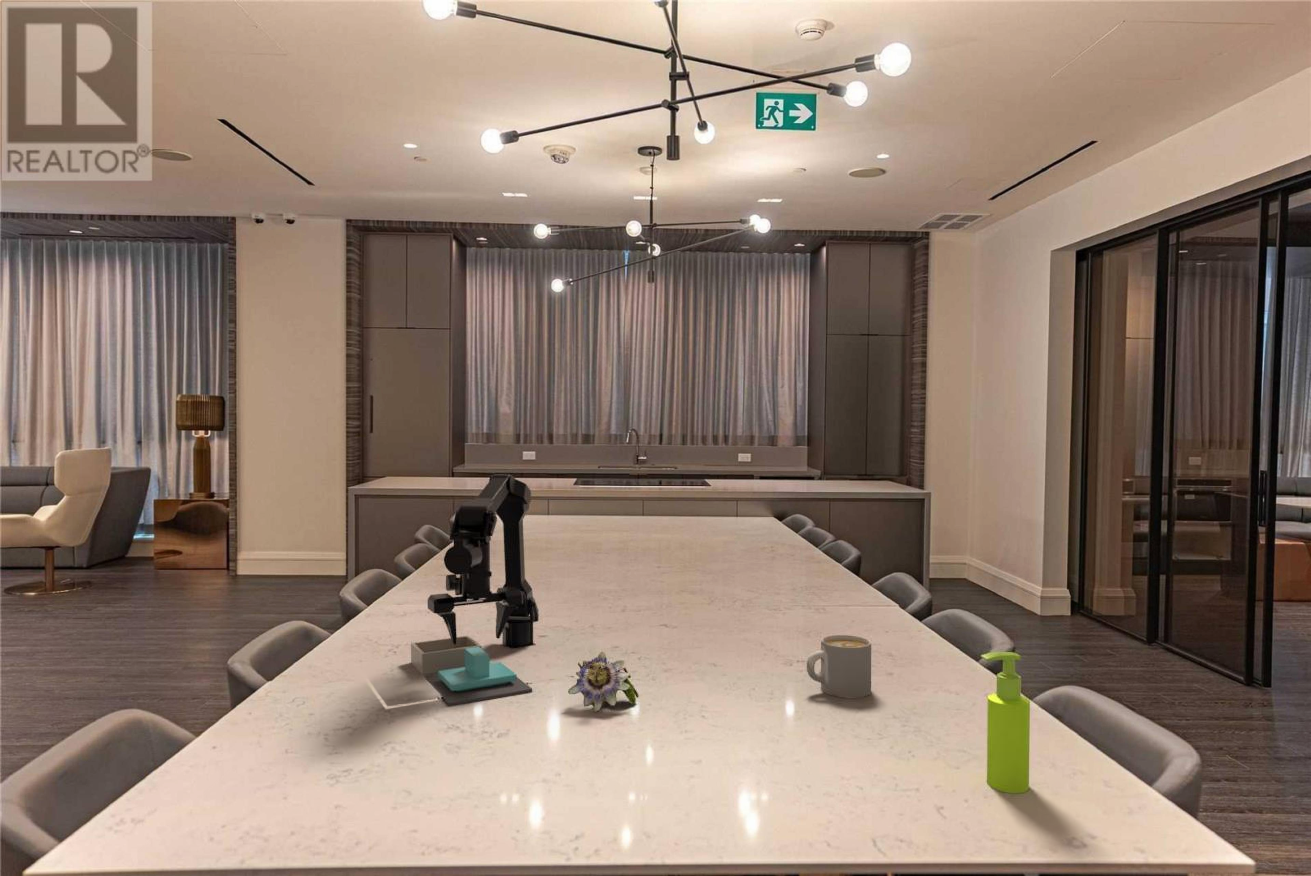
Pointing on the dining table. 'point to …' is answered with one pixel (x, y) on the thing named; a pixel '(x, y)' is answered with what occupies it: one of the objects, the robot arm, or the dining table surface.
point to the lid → (476, 672)
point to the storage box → (440, 654)
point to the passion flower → (603, 682)
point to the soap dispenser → (1008, 729)
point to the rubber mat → (477, 691)
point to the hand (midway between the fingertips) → (476, 640)
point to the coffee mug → (843, 666)
